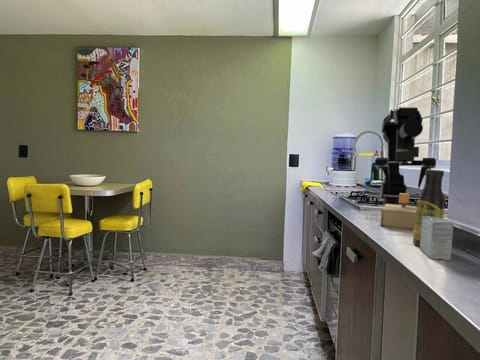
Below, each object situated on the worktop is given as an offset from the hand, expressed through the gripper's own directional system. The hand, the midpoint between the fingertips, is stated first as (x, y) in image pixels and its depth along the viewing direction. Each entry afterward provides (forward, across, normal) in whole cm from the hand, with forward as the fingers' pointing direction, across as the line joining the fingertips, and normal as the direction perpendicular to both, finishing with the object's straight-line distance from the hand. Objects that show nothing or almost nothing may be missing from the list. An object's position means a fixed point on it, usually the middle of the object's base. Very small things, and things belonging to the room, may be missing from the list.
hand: (403, 187), depth 119 cm
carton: (+12, 0, -1) cm, 13 cm away
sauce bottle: (+17, +7, -28) cm, 34 cm away
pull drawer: (+7, 0, +2) cm, 7 cm away
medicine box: (+19, +8, -36) cm, 41 cm away
